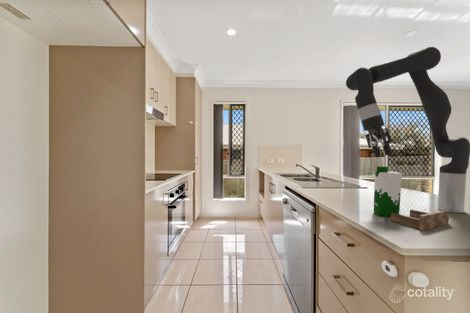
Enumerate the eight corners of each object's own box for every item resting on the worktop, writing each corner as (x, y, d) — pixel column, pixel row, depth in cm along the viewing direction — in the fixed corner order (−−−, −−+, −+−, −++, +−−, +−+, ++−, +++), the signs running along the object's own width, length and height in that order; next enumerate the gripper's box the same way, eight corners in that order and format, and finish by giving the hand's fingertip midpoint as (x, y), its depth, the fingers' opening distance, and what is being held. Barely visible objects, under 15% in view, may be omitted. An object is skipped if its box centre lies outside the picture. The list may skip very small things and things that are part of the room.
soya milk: (370, 211, 110) (372, 165, 109) (393, 213, 108) (395, 166, 107) (377, 217, 101) (380, 167, 101) (402, 218, 100) (405, 168, 99)
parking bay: (413, 216, 104) (414, 204, 104) (448, 224, 94) (449, 210, 93) (387, 221, 95) (388, 208, 95) (422, 230, 85) (423, 216, 85)
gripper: (389, 110, 94) (403, 151, 93) (372, 118, 109) (383, 155, 107) (369, 115, 95) (382, 156, 93) (354, 123, 109) (366, 159, 107)
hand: (383, 155), depth 100 cm, fingers open, 8 cm apart
